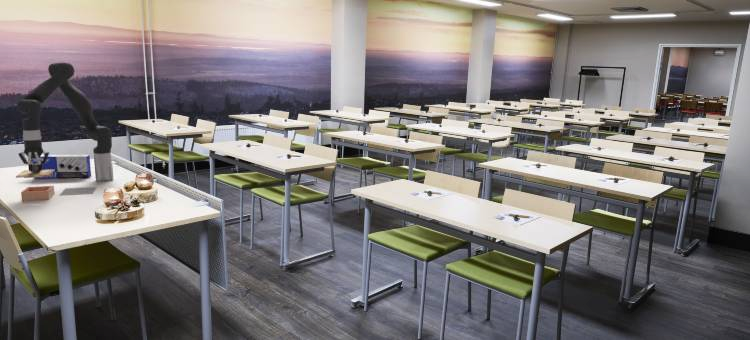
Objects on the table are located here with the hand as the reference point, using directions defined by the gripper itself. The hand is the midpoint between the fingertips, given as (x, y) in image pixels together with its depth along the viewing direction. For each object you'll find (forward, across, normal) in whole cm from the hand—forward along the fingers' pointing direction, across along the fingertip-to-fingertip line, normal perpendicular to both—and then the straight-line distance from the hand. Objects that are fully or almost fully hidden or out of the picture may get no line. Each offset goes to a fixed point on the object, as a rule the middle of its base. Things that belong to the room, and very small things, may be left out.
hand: (35, 171), depth 262 cm
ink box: (+15, -2, -50) cm, 52 cm away
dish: (+14, 0, 0) cm, 14 cm away
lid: (+2, 0, 0) cm, 2 cm away
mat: (+14, -17, -9) cm, 24 cm away
